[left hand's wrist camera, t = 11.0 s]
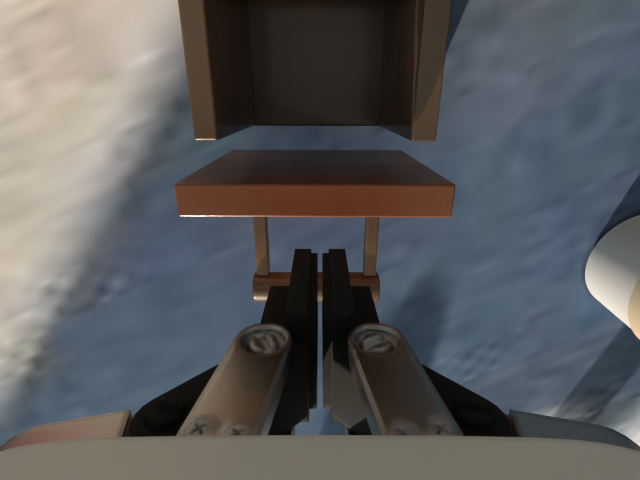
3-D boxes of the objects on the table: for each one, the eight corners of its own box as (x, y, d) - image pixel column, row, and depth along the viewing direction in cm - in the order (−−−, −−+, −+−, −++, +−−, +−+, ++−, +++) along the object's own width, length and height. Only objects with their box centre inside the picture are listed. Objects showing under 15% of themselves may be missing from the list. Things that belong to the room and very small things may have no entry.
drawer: (392, 264, 23) (432, 355, 15) (241, 263, 23) (197, 354, 15) (437, -280, 15) (593, -780, 6) (196, -281, 15) (32, -782, 6)
